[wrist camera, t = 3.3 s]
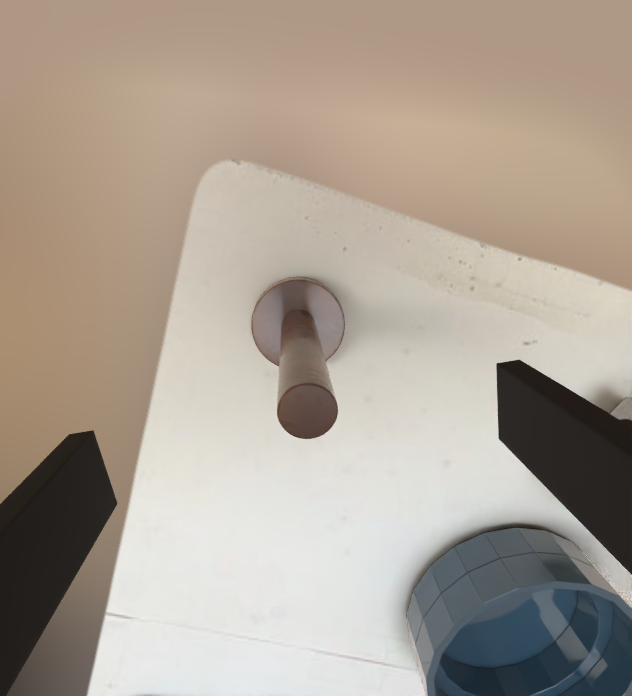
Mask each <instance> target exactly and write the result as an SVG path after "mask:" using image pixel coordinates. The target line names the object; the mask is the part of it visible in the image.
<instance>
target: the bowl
mask: <svg viewBox="0 0 632 696" xmlns="http://www.w3.org/2000/svg"><path fill="white" fill-rule="evenodd" d="M407 624H408V633H409V639H410V643H411V646H412V650H413V653H414V657H415V660H416V663H417V667H418V670H419V674H420V677H421V681H422V684H423V687H424V691H425V694H426V696H630V695H631V694H632V607H631V606H630V605H629V604H628V602H627V601H626V600H625V599H624V598H623V597H622V596H621V594H620V593H619V592H618V591H617V590H616V589H615V588H614V587H613V585H612V584H611V583H610V582H609V581H608V580H607V579H606V578H605V576H604V575H603V574H602V573H601V572H600V571H599V570H598V568H597V567H596V566H595V565H594V564H593V563H592V562H591V561H590V559H589V558H588V557H587V556H586V555H585V554H584V553H583V552H582V551H581V550H580V549H579V548H578V547H577V546H576V545H575V544H574V543H573V542H571V541H569V540H566V539H564V538H562V537H560V536H557V535H555V534H553V533H551V532H548V531H545V530H536V529H526V528H510V529H504V530H498V531H493V532H487V533H485V534H484V533H483V534H481V535H479V536H477V537H474V538H472V539H470V540H468V541H465V542H463V543H461V544H459V545H456V546H455V547H453V548H452V549H451V550H449V551H448V552H447V553H446V554H445V555H443V556H442V557H441V558H440V559H438V560H437V561H436V562H435V563H433V564H432V565H431V567H429V568H428V570H427V571H426V573H425V574H424V576H423V577H422V578H421V580H420V581H419V583H418V584H417V586H416V587H415V589H414V590H413V594H412V597H411V601H410V604H409V608H408V611H407Z"/></svg>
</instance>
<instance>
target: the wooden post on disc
mask: <svg viewBox="0 0 632 696" xmlns="http://www.w3.org/2000/svg"><path fill="white" fill-rule="evenodd" d="M344 328H345V321H344V315H343V311H342V308H341V306H340V304H339V302H338V300H337V299H336V297H335V296H334V294H333V293H332V292H331V291H330V290H329V289H328V288H327V287H325V286H324V285H322V284H321V283H319V282H317V281H315V280H312V279H308V278H301V277H295V278H288V279H284V280H281V281H279V282H277V283H275V284H273V285H272V286H270V287H269V288H268V289H267V290H266V291H265V292H264V293H263V294H262V295H261V297H260V298H259V300H258V301H257V304H256V306H255V309H254V312H253V315H252V334H253V338H254V341H255V343H256V345H257V347H258V349H259V350H260V352H261V353H262V354H263V355H264V356H265V357H266V358H267V359H268V360H269V361H271V362H272V363H274V364H275V365H277V366H279V382H278V403H277V416H278V420H279V422H280V424H281V426H282V427H283V428H284V429H285V430H286V431H287V432H288V433H289V434H291V435H293V436H295V437H298V438H303V439H311V438H316V437H319V436H321V435H323V434H325V433H326V432H327V431H328V430H329V429H330V428H331V427H332V426H333V424H334V423H335V421H336V418H337V414H338V406H337V402H336V398H335V394H334V391H333V387H332V383H331V379H330V376H329V372H328V368H327V365H326V361H327V360H328V359H329V358H330V357H331V356H332V355H333V354H334V353H335V352H336V350H337V349H338V347H339V345H340V343H341V341H342V338H343V335H344Z"/></svg>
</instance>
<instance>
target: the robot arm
mask: <svg viewBox="0 0 632 696" xmlns="http://www.w3.org/2000/svg"><path fill="white" fill-rule="evenodd" d="M497 395H498V428H499V439H500V440H501V441H502V442H503V443H504V444H505V445H506V447H507V448H508V449H509V450H510V451H511V452H512V453H513V454H514V455H515V456H516V457H517V458H518V459H519V460H520V461H521V462H522V463H523V464H524V465H525V466H526V467H527V468H528V469H529V470H530V471H531V472H532V473H533V474H534V475H535V476H536V477H537V478H538V479H539V480H540V481H541V482H542V483H543V484H544V485H545V486H546V487H547V488H548V489H549V491H550V492H551V493H552V494H553V495H554V496H555V497H556V498H557V499H558V500H559V501H560V502H561V503H562V504H563V505H564V506H565V507H566V508H567V509H568V510H569V511H570V512H571V513H572V514H573V515H574V516H575V517H576V518H577V519H578V520H579V521H580V522H581V523H582V524H583V525H584V526H585V527H586V528H587V529H588V530H589V531H590V532H591V533H592V535H593V536H594V537H595V538H596V539H597V540H598V541H599V542H600V543H601V544H602V545H603V546H604V547H605V548H606V549H607V550H608V551H609V552H610V553H611V554H612V555H613V556H614V557H615V558H616V559H617V560H618V561H619V562H620V563H621V564H622V565H623V566H624V567H625V568H626V569H627V570H628V571H629V572H630V573H631V574H632V420H629V419H620V420H619V419H617V418H616V417H614V416H612V415H611V414H609V413H607V412H606V411H604V410H602V409H601V408H599V407H597V406H596V405H594V404H592V403H591V402H589V401H587V400H586V399H584V398H582V397H581V396H579V395H577V394H576V393H574V392H572V391H571V390H569V389H567V388H566V387H564V386H562V385H561V384H559V383H557V382H556V381H554V380H552V379H551V378H549V377H547V376H546V375H544V374H542V373H541V372H539V371H537V370H536V369H534V368H532V367H531V366H529V365H527V364H526V363H524V362H522V361H521V360H515V361H509V362H503V363H497ZM116 505H117V501H116V498H115V495H114V492H113V489H112V486H111V483H110V480H109V477H108V474H107V471H106V468H105V465H104V461H103V458H102V456H101V452H100V449H99V446H98V443H97V440H96V437H95V434H94V431H87V432H81V433H75V434H70V435H68V436H67V437H66V438H65V439H64V440H63V441H62V442H61V443H60V444H59V445H58V446H57V447H56V448H55V449H54V450H53V451H52V452H51V453H50V454H49V456H47V457H46V459H44V461H42V463H40V465H39V466H38V467H37V468H36V469H35V470H34V471H33V472H32V473H31V474H30V475H29V476H28V477H27V478H26V479H25V480H24V481H23V482H22V483H21V484H20V485H19V486H18V487H17V488H16V489H15V490H14V491H13V492H12V493H11V494H10V495H9V496H8V497H7V498H6V499H5V500H4V501H3V502H2V503H1V504H0V696H6V695H7V693H8V691H9V690H10V688H11V686H12V684H13V683H14V681H15V679H16V678H17V676H18V674H19V672H20V671H21V669H22V667H23V666H24V664H25V662H26V660H27V659H28V657H29V655H30V654H31V652H32V650H33V648H34V647H35V645H36V643H37V641H38V640H39V638H40V636H41V635H42V633H43V631H44V629H45V628H46V626H47V624H48V622H49V621H50V619H51V617H52V616H53V614H54V612H55V610H56V609H57V607H58V605H59V603H60V602H61V600H62V598H63V597H64V595H65V593H66V591H67V590H68V588H69V586H70V585H71V583H72V581H73V579H74V578H75V576H76V574H77V572H78V571H79V569H80V567H81V565H82V563H83V562H84V560H85V558H86V557H87V555H88V553H89V552H90V550H91V548H92V547H93V545H94V543H95V541H96V540H97V538H98V536H99V534H100V533H101V531H102V529H103V527H104V526H105V524H106V522H107V520H108V519H109V517H110V516H111V514H112V512H113V510H114V509H115V507H116Z"/></svg>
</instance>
